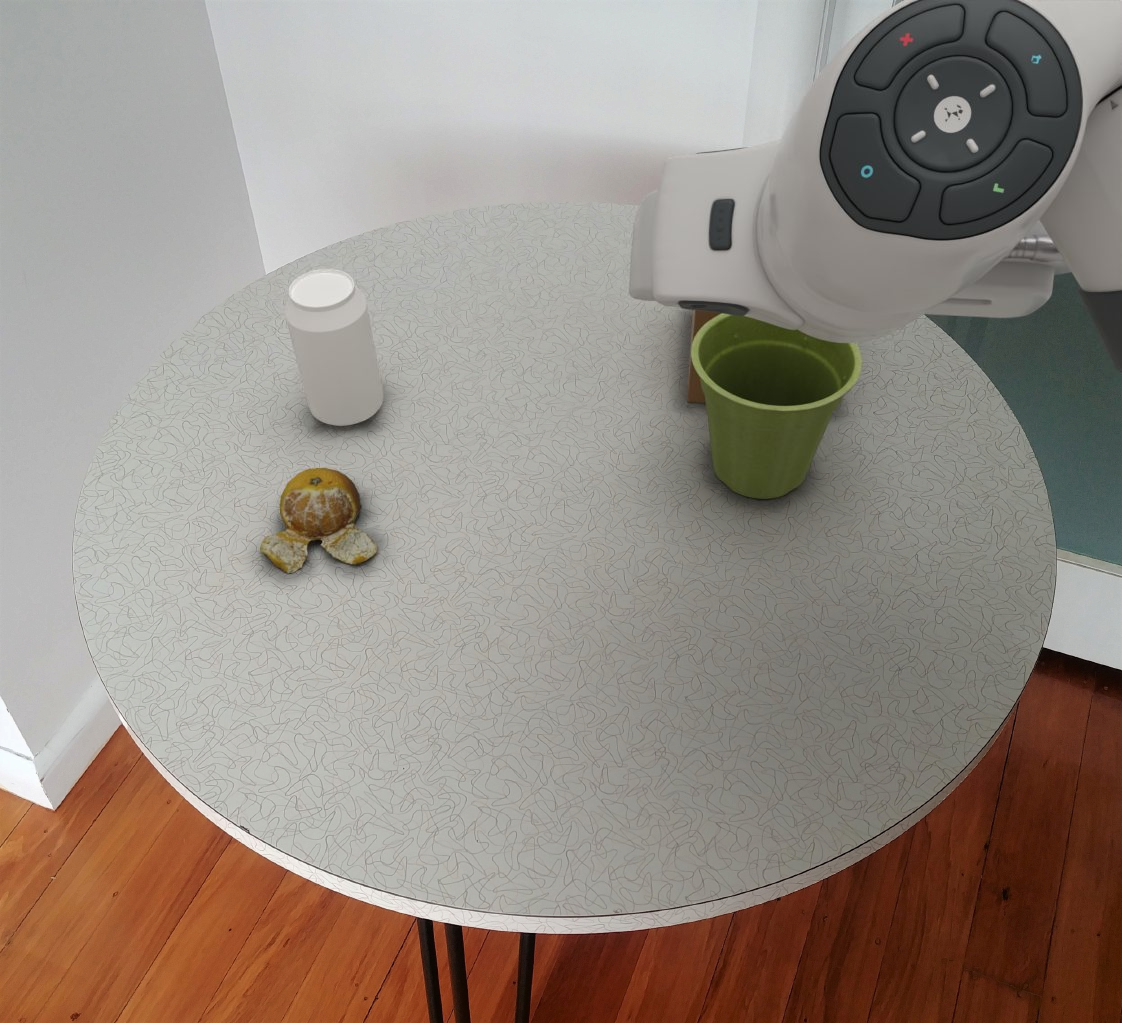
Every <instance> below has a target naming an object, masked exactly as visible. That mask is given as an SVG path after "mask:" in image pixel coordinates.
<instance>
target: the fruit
mask: <svg viewBox="0 0 1122 1023" xmlns="http://www.w3.org/2000/svg"><path fill="white" fill-rule="evenodd" d="M362 507H363V505H362V504H361V496H360V493H359V491H358V489H357V486H356V484H355V483H354V482H353V480H352V479H351V478H349V477H348V476H347V475H346V474H345V473H343V472H341V471H339V470H336V469H333V468H332V469H331V468H327V467H315V468H307V469H305V470H302V471H300V472H299V473H297V474H296V475H295V476H293V477H292V478H291V479H290V480H289V481H288V482H287V484H286V486H285V488H284V489H283V491H282V493H281V495H280V500H279V512H280V516H281V518H282V521H283V523H284V525H285V527H286V529H285V530H284V531H280V532H277V533H274V534H270V535H267V536H265V537H264V538H263V539H262V541H261V543H260V551H261V553H262V554H263V555H264V556H267V558H268V559H269V560H270V561H271V563H272V564H273V565H274V566H275V567H277V568H278V569H281V570H282V571H283V572H284V573H287V574H293V573H295V572H297V571H298V570H299V569H303V565H304V563H305V561H306V560H307V558H308V555H309V554H308V544H309V543H310V542H311V541H316V540H320V541H322V542H321V544H320V546H321V547H322V548H324V549H325V550H326V552H327V553H328V554H330V555H332V558H333V559H337V560H339V561H341V562H343V563H345V564H350V565H357V564H361V563H363V562H366V561H368V559H370V558H371V557H374V555H375V554H376V553H377V552H378V546H377V544H376V542H374V540H373V539H372V537H371V536H369V534H368V533H366V532H365V531H363V530H361V529H359V528H357V526H356V525H355V521H356V519H357V517H358V516H359V514H360V512H361V509H362Z"/></svg>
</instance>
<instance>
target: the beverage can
mask: <svg viewBox="0 0 1122 1023" xmlns="http://www.w3.org/2000/svg"><path fill="white" fill-rule="evenodd" d="M284 317H285V321H286V326H287V329H288V333H289V337H290V339H291V340H290V341H291V344H292V348H293V352H294V356H295V360H296V364H297V369H298V371H299V376H300V380H301V383H302V387H303V391H304V395H305V398H306V402H307V405H308V409H309V411H310V413H311V415H312V416H313V417H314V418H315V419H316V420H318V421H319V422H321V423H324V424H327V425H330V426H337V427H344V426H352V425H355V424H359V423H362V422H364V421H366V420H368V419H370V418H371V417H373V416H374V415H375V414H376V413H377V412H378V411H379V410H380V408H381V407H382V405H383V402H384V388H383V383H382V377H381V372H380V366H379V361H378V356H377V355H378V354H377V348H376V344H375V338H374V334H373V328H372V323H371V317H370V312H369V306H368V301H367V298H366V295H365V294H364V293H363V292H362V291H361V290H360V289H359V288H358V286H357V285H356V284H355V280H354V279H353V277H352V276H351V275H350V274H349V273H347V272H346V271H344V270H339V269H335V268H319V269H314V270H310V271H308V272H305V273H302V274H301V275H299V276H298V277H296V278H295V279H294V280H293V281H292V282H291V283H290V284H289V287H288V298H287V302H286V304H285V307H284Z"/></svg>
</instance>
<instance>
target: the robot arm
mask: <svg viewBox="0 0 1122 1023" xmlns="http://www.w3.org/2000/svg"><path fill="white" fill-rule="evenodd" d="M1069 273H1071V274H1072V276H1074V279H1075V281H1076V282H1077V284H1078V285H1079V288H1078V289H1077V292H1078V294H1079V296H1080V298H1081V300H1082V302H1083V305H1084V307H1085V309H1086V311H1087V314H1088V315H1089V317H1090V319H1091V322H1092V323H1093V325H1094V327H1095V329H1096V331H1097V333H1098V336H1099V337H1100V339H1101V342H1102V344H1103V346H1104V348H1105V350H1106V352H1107V353H1108V356H1109V358H1110V360H1111V362H1112V364H1113V366H1114V368H1115V370H1117V371H1118V372H1120V373H1122V0H901V1H900V2H898V3H897V4H895V5H894V6H892V7H890V8H889V9H887V10H886V11H884V12H882V13H881V14H879V15H878V16H877V17H875V18H874V19H873V20H871V21H870V22H869V23H867V24H866V25H865V26H864V27H862V29H860V30H859V31H858V32H857V33H856V34H855V35H854V36H853V37H852V38H851V39H850V40H848V42H847V43H846V44H845V45H843V47H842V48H841V49H840V50H839V51H837V53H835V55H834V56H833V57H832V58H831V59H830V60H829V62H828V63H827V64H826V65H825V66H824V67H823V69H822V70H821V71H820V72H819V74H818V75H817V76H816V78H815V79H814V80H813V81H812V83H811V84H810V86H808V88H807V90H805V93H804V95H803V96H802V97H801V99H800V101H799V103H798V104H797V106H796V107H795V109H794V111H793V113H792V115H791V117H790V118H789V121H788V123H787V125H786V128H785V130H784V132H783V134H782V136H781V138H780V139H776V140H774V141H769V142H766V143H762V144H758V145H753V146H748V147H747V146H746V147H737V148H730V149H723V150H722V149H721V150H712V151H711V150H710V151H700V152H696V153H687V154H676V155H673V156H670V157H668V158H666V159H665V160H664V161H663V163H662V167H661V171H660V176H659V180H658V185H657V188H655V189H653V190H652V191H650V192H649V193H647V194H646V196H644V198H643V199H642V200H641V202H640V205H639V206H638V208H637V211H636V213H635V217H634V221H633V226H632V240H631V250H630V264H629V282H628V294H629V296H630V297H631V298H633V300H635V299H636V300H638V301H639V300H640V301H647V302H657V303H658V304H660V305H661V306H664V307H670V308H672V307H673V308H680V309H684V310H690V311H693V310H699V311H708V312H717V313H723V314H729V315H735V316H746V317H750V318H754V319H757V320H761V321H764V322H767V323H770V324H773V325H776V326H778V327H782V328H785V329H790V330H797V329H798V330H799V331H801V332H803V333H805V334H807V335H809V336H812V337H815V338H818V339H821V340H825V341H829V342H837V343H856V344H858V343H867V342H871V341H874V340H878V339H881V338H883V337H887V336H889V335H891V334H894V333H895V332H896V333H897V331H900V330H901V329H903V328H904V327H906V326H908V325H909V324H911V323H913V322H914V321H916V320H917V319H918V318H920V317H922V316H924V315H934V316H935V315H936V316H954V317H975V318H994V319H1012V318H1020V317H1025V316H1029V315H1030V314H1033V313H1034V312H1036V311H1037V310H1039V309H1040V308H1041V307H1043V306H1044V305H1045V304H1046V303H1047V302H1048V301H1049V300H1050V298H1051V297H1052V294H1053V288H1054V278H1055V276H1057V275H1058V276H1059V275H1064V274H1069Z"/></svg>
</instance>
